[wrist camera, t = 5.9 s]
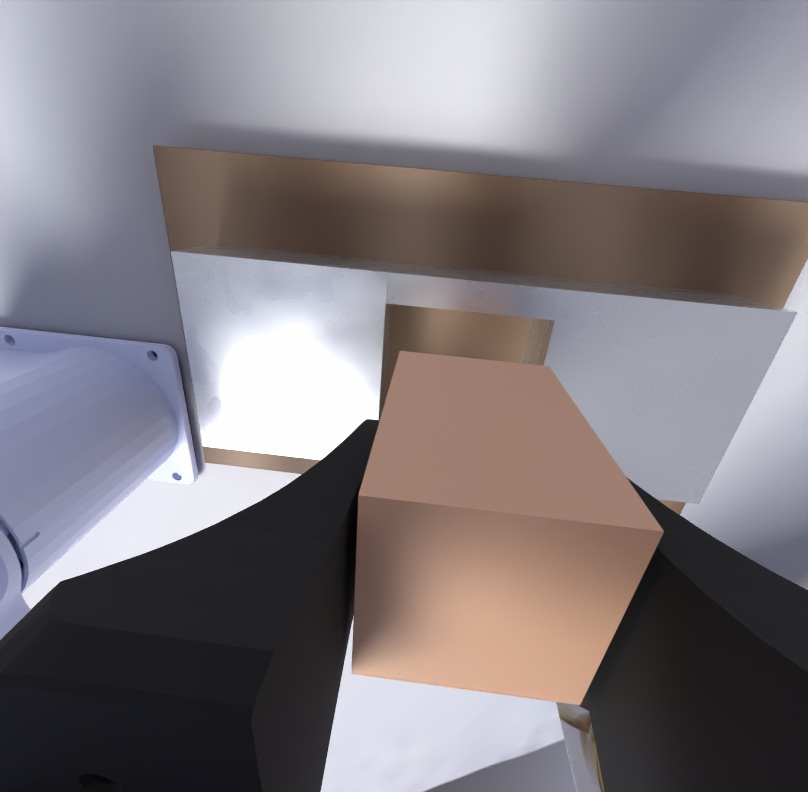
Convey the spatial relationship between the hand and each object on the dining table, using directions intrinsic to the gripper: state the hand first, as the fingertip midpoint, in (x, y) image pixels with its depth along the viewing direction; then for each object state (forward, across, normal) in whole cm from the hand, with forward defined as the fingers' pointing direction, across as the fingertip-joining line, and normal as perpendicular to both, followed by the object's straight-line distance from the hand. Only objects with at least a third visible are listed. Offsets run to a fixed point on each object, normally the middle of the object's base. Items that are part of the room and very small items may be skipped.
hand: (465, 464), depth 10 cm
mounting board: (+9, 0, 0) cm, 9 cm away
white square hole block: (+9, 0, 0) cm, 9 cm away
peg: (+2, 0, 0) cm, 2 cm away
